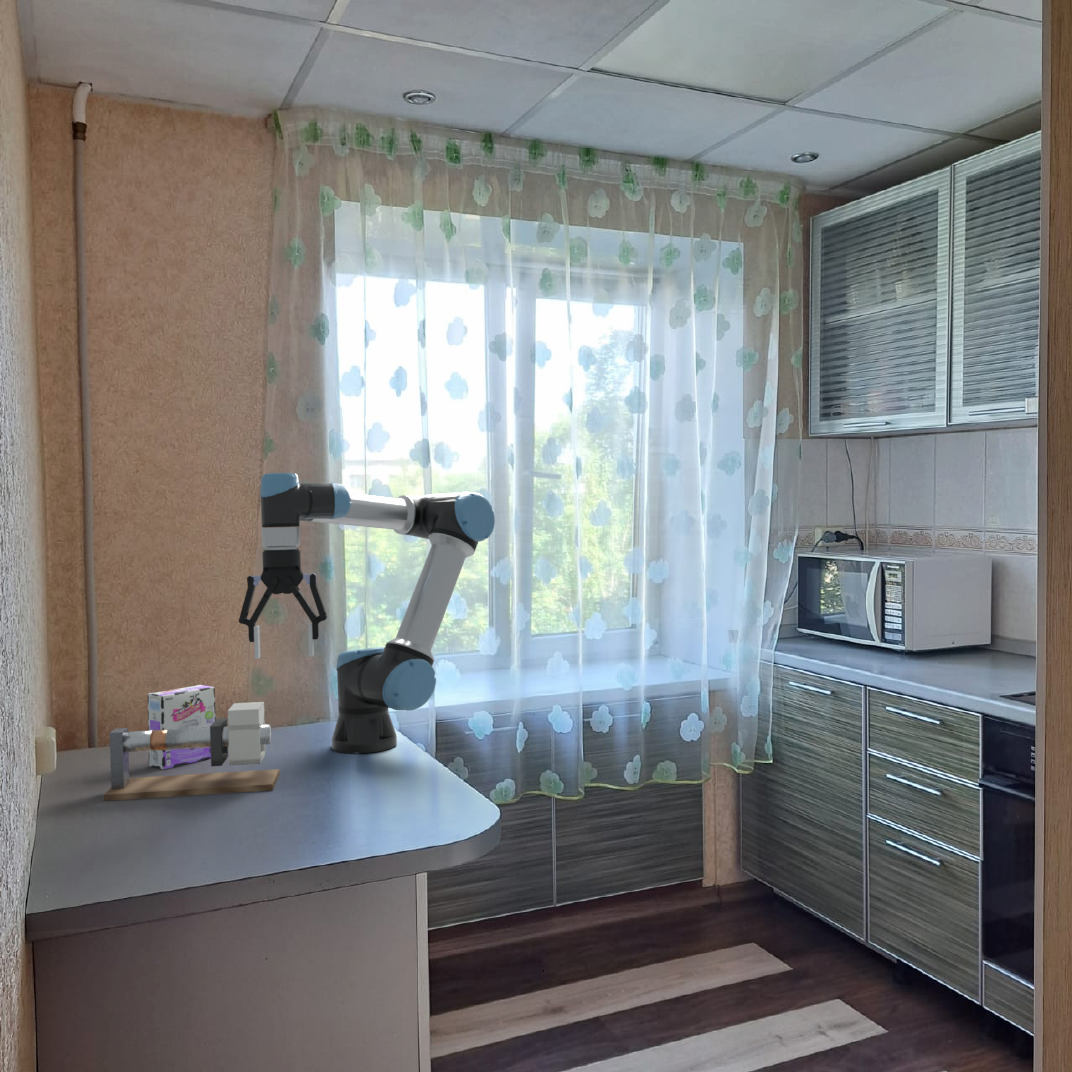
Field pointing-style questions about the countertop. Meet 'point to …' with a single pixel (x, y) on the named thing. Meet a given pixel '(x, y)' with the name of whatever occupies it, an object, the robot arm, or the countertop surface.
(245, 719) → the sleeve
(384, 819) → the countertop surface
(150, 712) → the candy box
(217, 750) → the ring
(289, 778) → the countertop surface
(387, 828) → the countertop surface
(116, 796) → the board
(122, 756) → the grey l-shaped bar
